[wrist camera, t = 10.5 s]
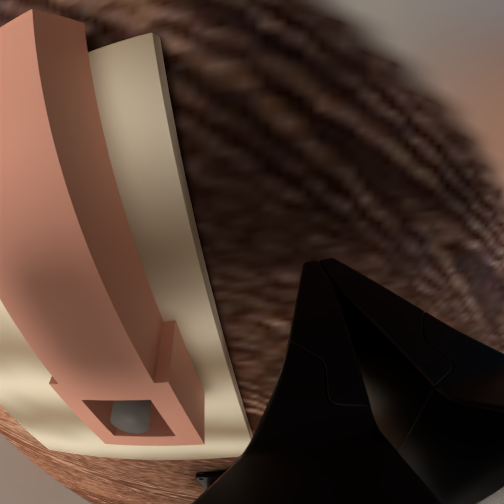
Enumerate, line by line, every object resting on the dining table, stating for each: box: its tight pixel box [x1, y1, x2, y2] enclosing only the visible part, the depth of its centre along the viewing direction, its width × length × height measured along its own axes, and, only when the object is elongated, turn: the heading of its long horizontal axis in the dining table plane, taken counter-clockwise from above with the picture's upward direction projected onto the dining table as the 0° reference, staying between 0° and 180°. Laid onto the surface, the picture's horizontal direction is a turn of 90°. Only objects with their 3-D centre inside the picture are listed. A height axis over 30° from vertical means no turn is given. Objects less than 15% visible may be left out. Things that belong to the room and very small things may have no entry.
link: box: [0, 9, 205, 446], centre depth 9 cm, size 16×5×3 cm, turn 7°
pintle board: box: [0, 33, 253, 460], centre depth 12 cm, size 24×18×4 cm
